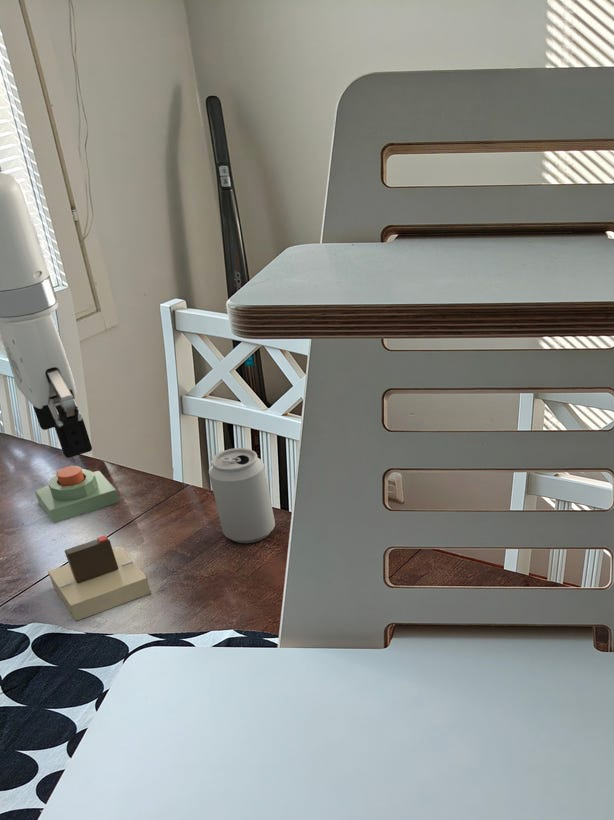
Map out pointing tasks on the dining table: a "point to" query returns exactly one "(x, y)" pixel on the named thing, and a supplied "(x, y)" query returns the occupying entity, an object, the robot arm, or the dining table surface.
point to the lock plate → (100, 587)
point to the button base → (76, 496)
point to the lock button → (70, 476)
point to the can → (242, 495)
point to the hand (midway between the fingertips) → (66, 439)
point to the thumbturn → (91, 559)
